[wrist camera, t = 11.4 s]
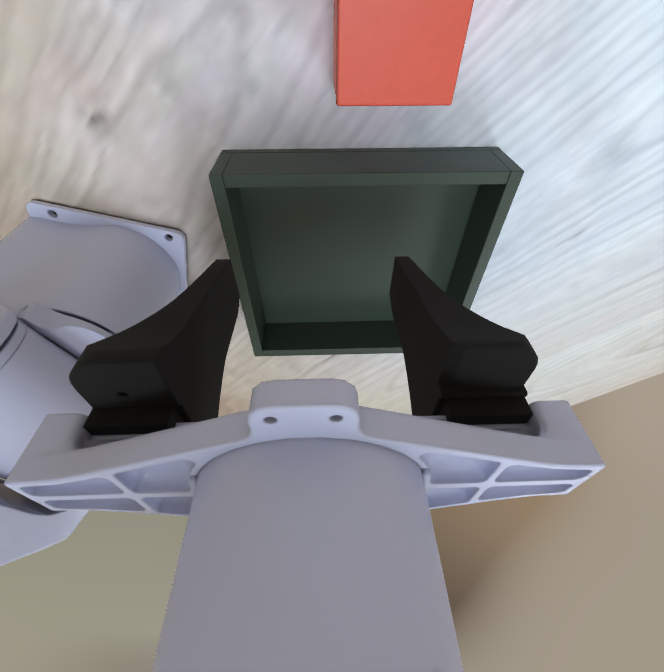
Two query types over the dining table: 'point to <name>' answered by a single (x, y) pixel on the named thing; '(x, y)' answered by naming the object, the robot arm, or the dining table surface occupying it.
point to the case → (398, 51)
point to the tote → (354, 236)
